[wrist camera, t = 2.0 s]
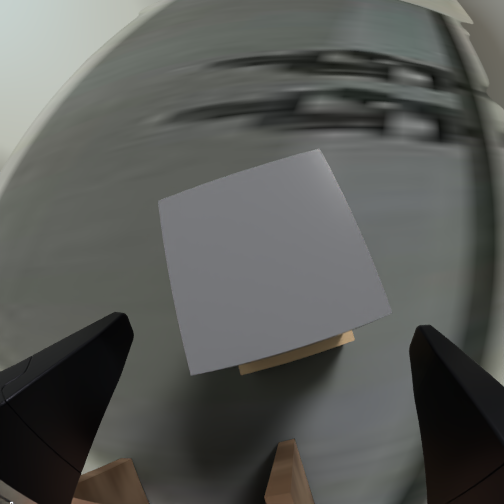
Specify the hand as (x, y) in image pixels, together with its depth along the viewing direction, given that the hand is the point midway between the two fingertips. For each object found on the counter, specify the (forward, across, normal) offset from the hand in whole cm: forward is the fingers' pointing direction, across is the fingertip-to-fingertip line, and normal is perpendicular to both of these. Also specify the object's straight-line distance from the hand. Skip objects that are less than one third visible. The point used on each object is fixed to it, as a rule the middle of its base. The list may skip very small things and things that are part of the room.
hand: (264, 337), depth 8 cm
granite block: (+6, 0, +3) cm, 7 cm away
